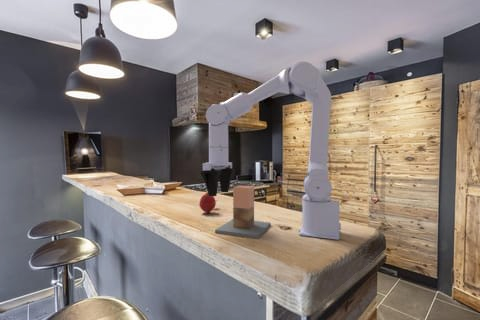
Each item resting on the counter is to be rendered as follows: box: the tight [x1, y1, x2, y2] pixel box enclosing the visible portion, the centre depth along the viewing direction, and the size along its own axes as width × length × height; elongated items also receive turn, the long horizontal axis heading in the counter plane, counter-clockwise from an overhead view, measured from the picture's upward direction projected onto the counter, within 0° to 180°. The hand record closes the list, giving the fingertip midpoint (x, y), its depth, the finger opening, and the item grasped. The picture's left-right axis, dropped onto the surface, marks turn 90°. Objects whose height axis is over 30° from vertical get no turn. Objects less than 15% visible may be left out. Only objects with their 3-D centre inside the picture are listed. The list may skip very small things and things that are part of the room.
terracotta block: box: [232, 185, 255, 209], centre depth 63 cm, size 4×4×6 cm
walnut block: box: [232, 205, 255, 229], centre depth 63 cm, size 4×4×6 cm
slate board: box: [214, 218, 272, 240], centre depth 63 cm, size 12×12×1 cm
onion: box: [199, 191, 217, 214], centre depth 82 cm, size 6×6×8 cm
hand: (218, 193), depth 66 cm, fingers open, 7 cm apart
